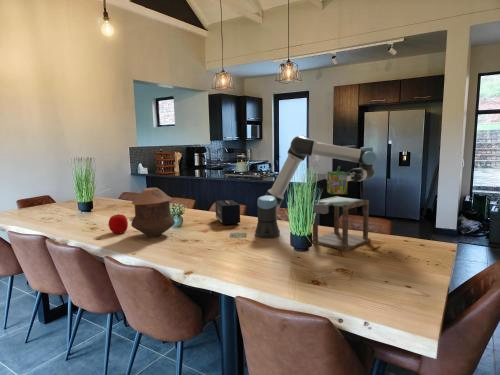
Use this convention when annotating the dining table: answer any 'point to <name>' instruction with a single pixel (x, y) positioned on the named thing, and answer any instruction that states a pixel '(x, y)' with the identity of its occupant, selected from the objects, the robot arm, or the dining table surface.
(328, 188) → the chalk box
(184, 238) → the dining table surface
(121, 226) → the tomato
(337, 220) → the stand
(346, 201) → the trapdoor
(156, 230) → the pottery vessel
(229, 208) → the speaker
